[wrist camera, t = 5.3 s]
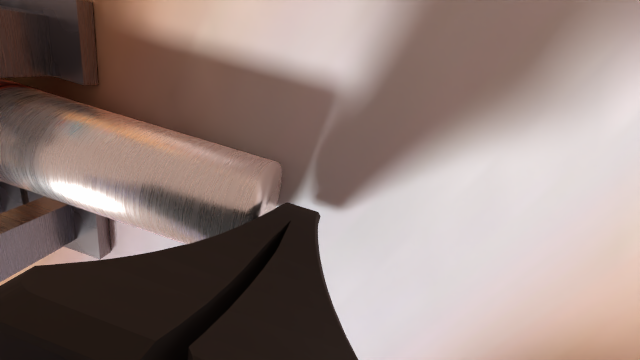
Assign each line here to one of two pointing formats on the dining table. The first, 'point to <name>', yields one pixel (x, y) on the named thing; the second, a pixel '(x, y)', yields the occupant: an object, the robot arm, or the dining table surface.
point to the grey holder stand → (69, 64)
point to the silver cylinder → (130, 167)
